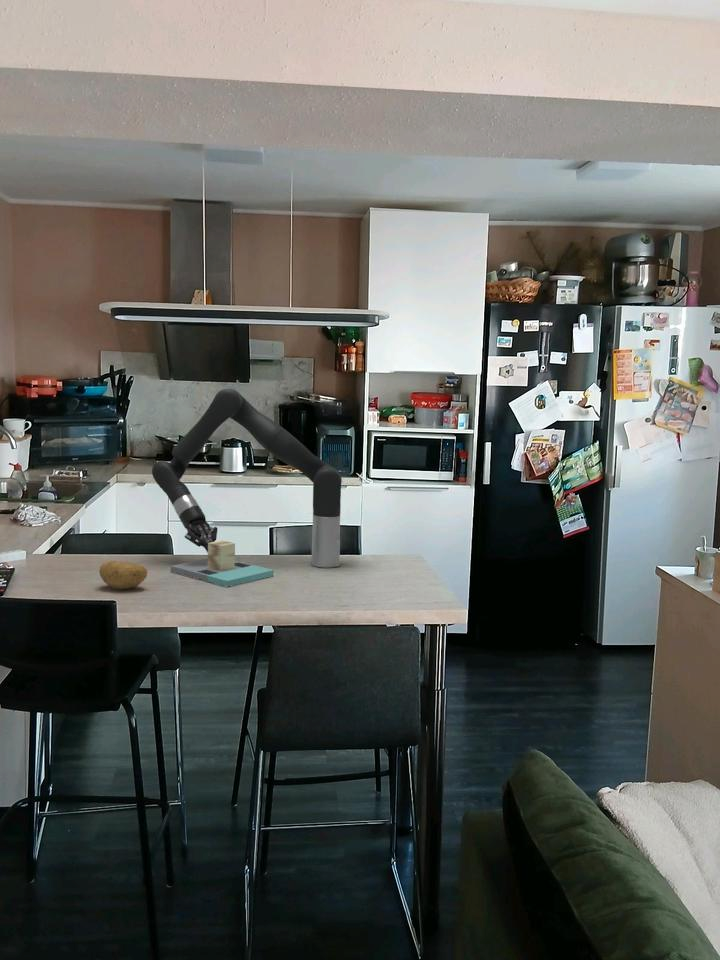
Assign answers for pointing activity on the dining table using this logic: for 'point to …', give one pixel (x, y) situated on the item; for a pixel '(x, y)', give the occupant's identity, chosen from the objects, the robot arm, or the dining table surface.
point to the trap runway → (223, 572)
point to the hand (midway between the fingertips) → (214, 554)
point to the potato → (122, 574)
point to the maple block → (221, 555)
